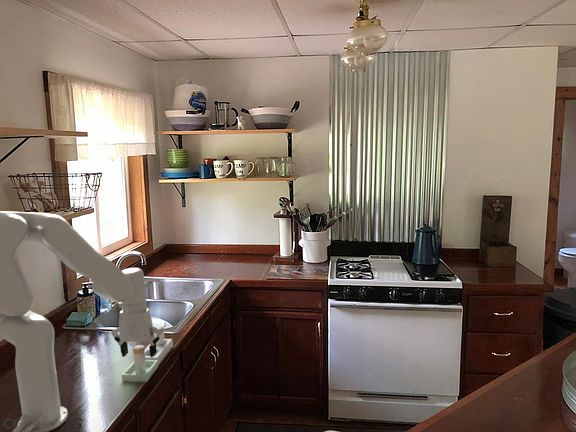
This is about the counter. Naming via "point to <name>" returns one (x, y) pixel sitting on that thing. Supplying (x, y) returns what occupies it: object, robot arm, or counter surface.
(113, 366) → the counter surface
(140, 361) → the cylinder
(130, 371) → the tray
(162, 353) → the holder block
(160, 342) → the cylinder
